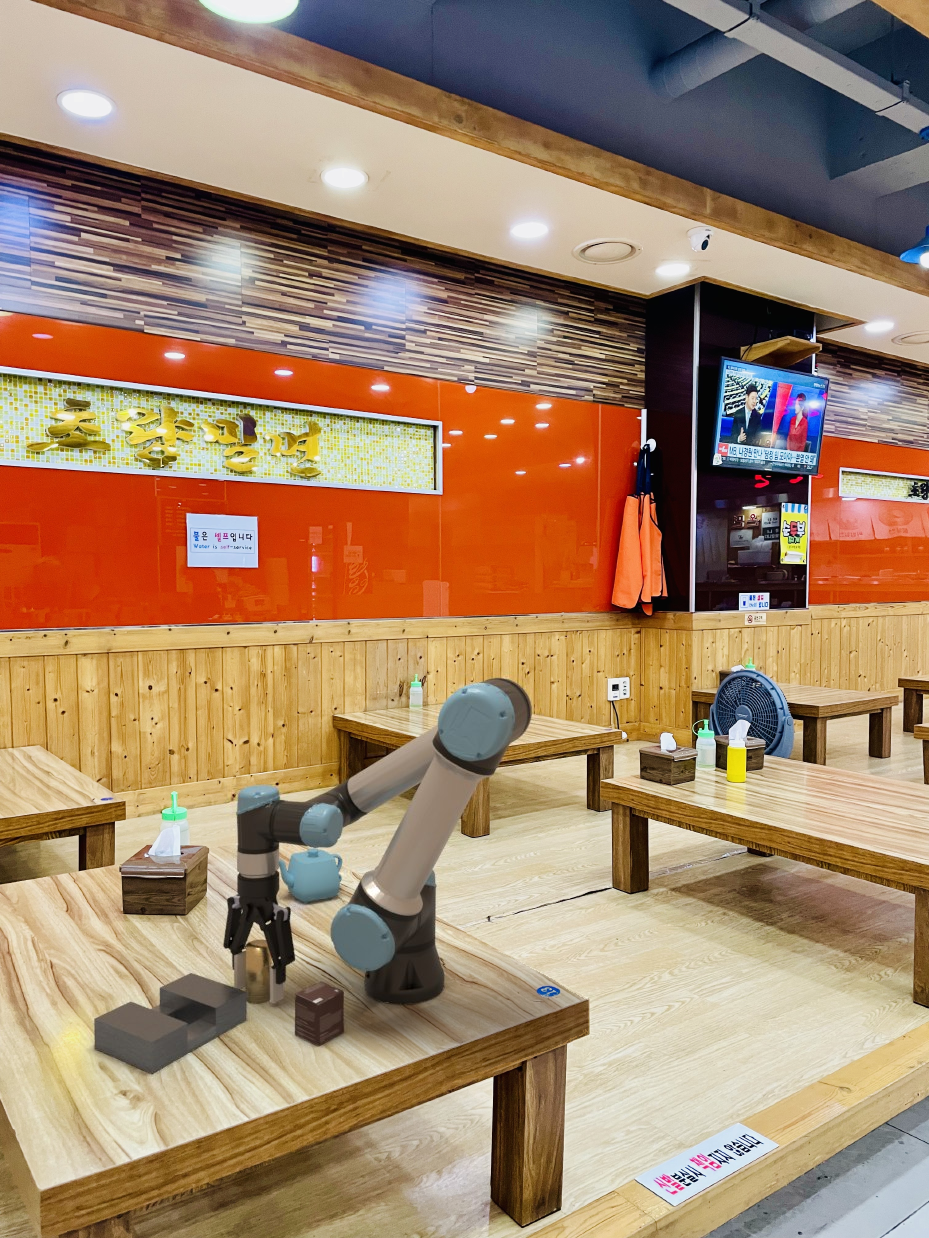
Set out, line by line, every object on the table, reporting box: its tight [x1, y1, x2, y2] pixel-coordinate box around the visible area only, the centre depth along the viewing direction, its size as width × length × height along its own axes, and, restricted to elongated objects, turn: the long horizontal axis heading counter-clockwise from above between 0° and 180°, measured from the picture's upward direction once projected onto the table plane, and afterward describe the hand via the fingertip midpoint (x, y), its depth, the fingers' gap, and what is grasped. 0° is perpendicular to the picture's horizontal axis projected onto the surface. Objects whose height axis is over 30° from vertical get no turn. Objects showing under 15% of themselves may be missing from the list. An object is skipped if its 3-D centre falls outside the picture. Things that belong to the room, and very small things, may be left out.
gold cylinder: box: [245, 939, 273, 1005], centre depth 160 cm, size 5×5×10 cm
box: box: [294, 981, 345, 1047], centre depth 147 cm, size 6×6×7 cm
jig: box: [93, 972, 248, 1075], centre depth 147 cm, size 14×20×5 cm
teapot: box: [279, 847, 343, 904], centre depth 213 cm, size 12×18×12 cm
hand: (258, 993), depth 160 cm, fingers open, 8 cm apart
